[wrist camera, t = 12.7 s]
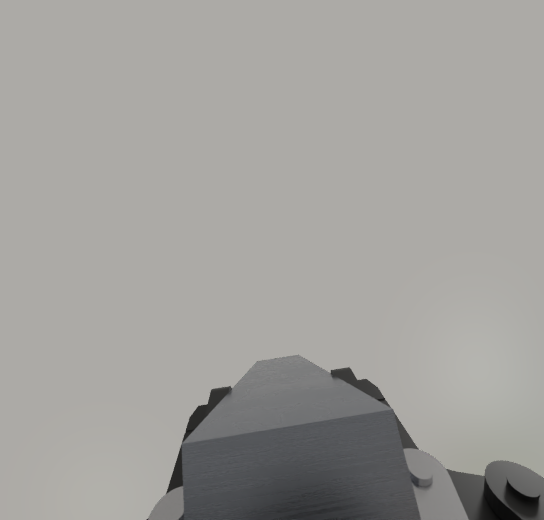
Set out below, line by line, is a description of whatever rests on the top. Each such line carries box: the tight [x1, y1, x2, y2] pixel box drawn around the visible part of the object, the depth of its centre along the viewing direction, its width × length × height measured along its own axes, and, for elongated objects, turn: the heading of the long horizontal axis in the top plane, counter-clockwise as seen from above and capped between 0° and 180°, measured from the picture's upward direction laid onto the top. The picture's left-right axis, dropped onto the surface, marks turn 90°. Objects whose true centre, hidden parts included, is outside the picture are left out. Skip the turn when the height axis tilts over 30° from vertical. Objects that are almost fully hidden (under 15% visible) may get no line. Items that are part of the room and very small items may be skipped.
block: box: [182, 355, 421, 520], centre depth 14 cm, size 4×21×4 cm, turn 0°
